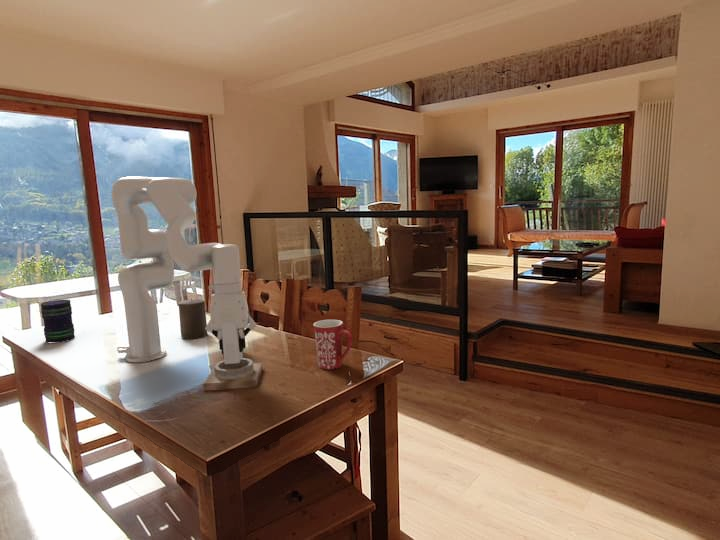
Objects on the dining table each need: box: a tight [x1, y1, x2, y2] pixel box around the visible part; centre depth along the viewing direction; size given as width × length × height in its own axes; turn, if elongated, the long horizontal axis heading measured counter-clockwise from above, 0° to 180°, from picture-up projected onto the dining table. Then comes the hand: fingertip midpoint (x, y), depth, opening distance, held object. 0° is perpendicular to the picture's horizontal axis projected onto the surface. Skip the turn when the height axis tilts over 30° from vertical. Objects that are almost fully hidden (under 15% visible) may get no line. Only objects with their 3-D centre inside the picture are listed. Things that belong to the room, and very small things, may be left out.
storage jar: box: [40, 299, 76, 343], centre depth 176 cm, size 10×10×15 cm
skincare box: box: [221, 322, 244, 364], centre depth 129 cm, size 6×4×12 cm
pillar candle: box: [178, 298, 208, 340], centre depth 176 cm, size 10×10×15 cm
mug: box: [312, 319, 353, 370], centre depth 137 cm, size 13×9×14 cm
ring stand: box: [203, 357, 263, 392], centre depth 130 cm, size 14×14×4 cm
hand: (232, 350), depth 129 cm, fingers closed on skincare box, 4 cm apart
